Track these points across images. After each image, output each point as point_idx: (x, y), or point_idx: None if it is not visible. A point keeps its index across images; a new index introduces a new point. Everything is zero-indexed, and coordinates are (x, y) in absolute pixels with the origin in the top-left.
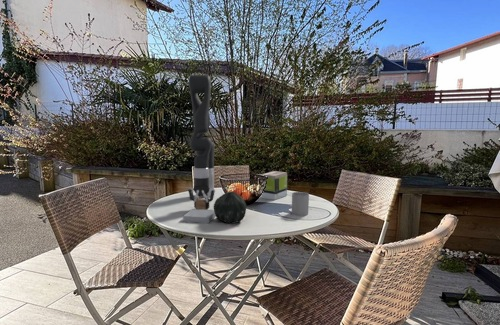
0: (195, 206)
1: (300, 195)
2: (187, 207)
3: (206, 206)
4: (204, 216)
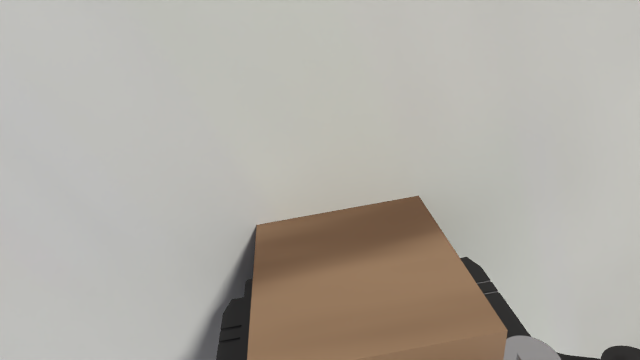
0: None
1: None
2: (51, 263)
3: None
4: None
